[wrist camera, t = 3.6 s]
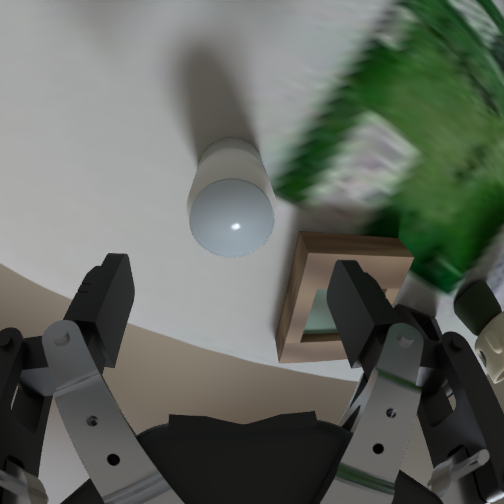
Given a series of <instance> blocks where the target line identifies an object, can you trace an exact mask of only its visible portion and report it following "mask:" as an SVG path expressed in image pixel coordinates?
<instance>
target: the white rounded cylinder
mask: <svg viewBox="0 0 504 504" xmlns="http://www.w3.org/2000/svg"><path fill="white" fill-rule="evenodd" d="M187 212H188V217H189V223H190V229H191V232H192V234H193V236H194V238H195V239H196V241H197V242H198V243H199V244H200V245H201V246H202V247H203V248H204V249H206V250H207V251H209V252H211V253H213V254H216V255H219V256H223V257H240V256H244V255H247V254H250V253H252V252H254V251H256V250H257V249H259V248H260V247H261V246H262V245H263V244H264V243H265V242H266V241H267V240H268V238H269V237H270V235H271V233H272V230H273V226H274V216H275V212H276V199H275V195H274V192H273V189H272V187H271V184H270V181H269V178H268V176H267V173H266V170H265V168H264V165H263V162H262V160H261V157H260V155H259V153H258V151H257V150H256V149H255V148H254V147H253V146H252V145H251V144H250V143H248V142H246V141H244V140H242V139H238V138H224V139H221V140H218V141H216V142H214V143H213V144H211V145H210V146H209V147H208V148H207V149H206V150H205V152H204V153H203V155H202V157H201V160H200V163H199V166H198V169H197V172H196V175H195V178H194V181H193V184H192V187H191V190H190V193H189V196H188V200H187Z"/></svg>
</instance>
